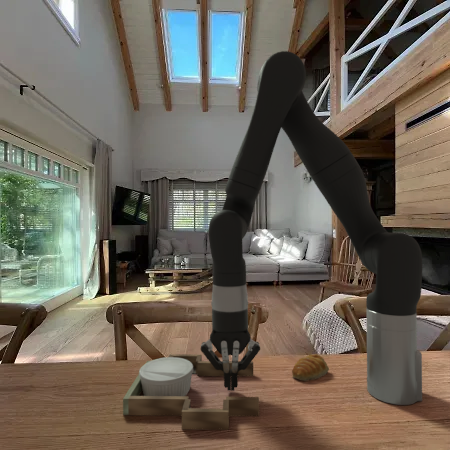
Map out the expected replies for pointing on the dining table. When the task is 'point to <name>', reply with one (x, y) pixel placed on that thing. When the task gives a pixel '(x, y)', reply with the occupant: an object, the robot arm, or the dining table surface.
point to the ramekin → (166, 377)
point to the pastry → (310, 368)
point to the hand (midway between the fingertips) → (230, 388)
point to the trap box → (182, 404)
